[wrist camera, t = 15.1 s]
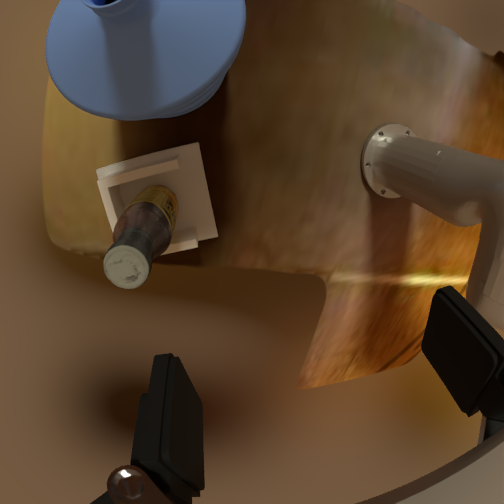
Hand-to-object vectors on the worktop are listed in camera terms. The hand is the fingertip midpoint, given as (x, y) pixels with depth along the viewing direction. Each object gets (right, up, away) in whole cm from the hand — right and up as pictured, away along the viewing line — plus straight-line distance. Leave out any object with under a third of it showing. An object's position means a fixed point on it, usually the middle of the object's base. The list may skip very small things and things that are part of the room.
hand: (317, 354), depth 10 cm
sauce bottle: (-15, +10, +31) cm, 36 cm away
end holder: (-16, +11, +32) cm, 37 cm away
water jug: (-13, +29, +23) cm, 39 cm away
